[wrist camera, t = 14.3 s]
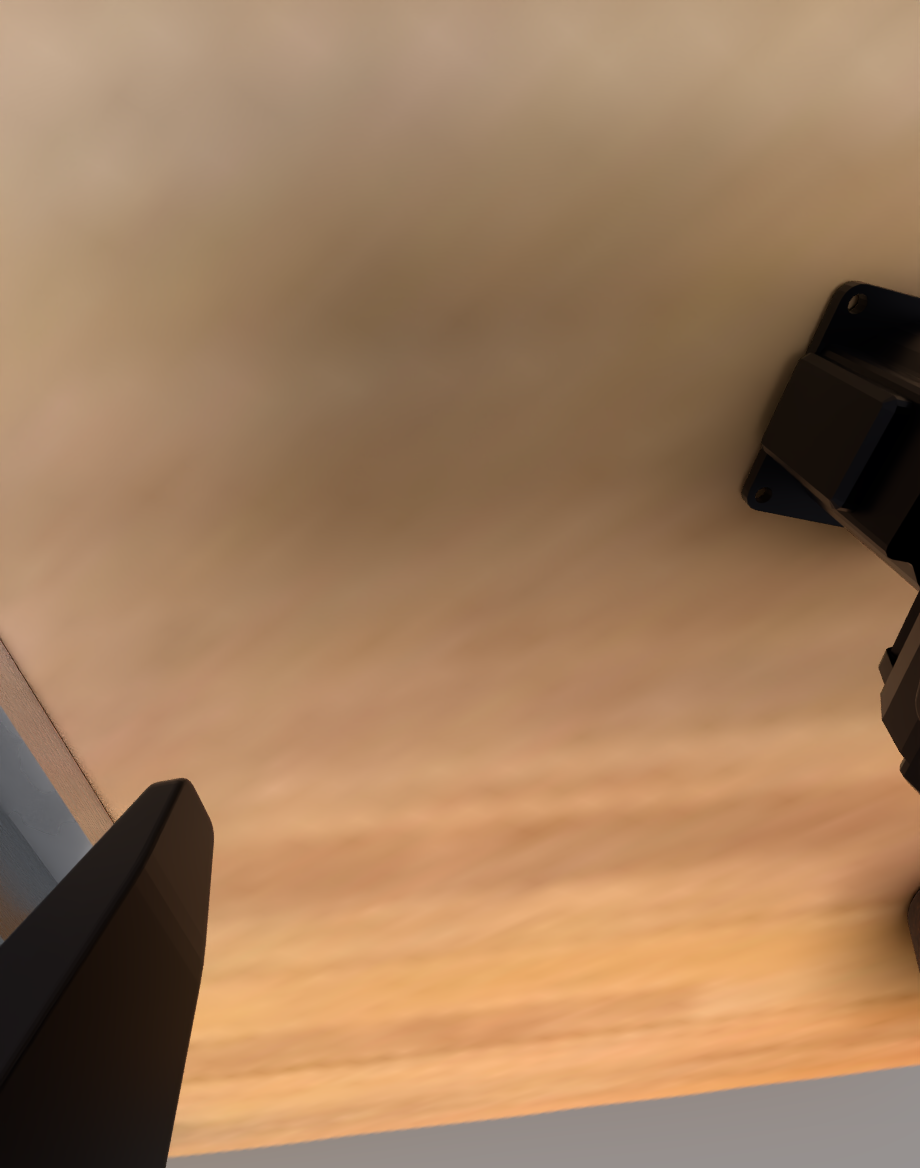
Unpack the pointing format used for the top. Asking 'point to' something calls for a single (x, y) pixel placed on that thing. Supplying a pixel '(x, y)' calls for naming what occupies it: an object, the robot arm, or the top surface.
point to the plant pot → (915, 925)
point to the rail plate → (37, 803)
